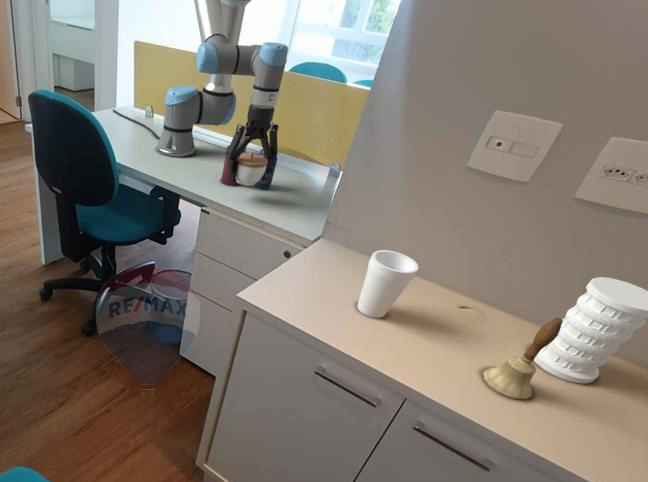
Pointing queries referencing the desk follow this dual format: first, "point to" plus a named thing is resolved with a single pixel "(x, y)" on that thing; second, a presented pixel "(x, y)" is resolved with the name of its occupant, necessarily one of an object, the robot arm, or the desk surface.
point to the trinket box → (250, 168)
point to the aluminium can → (228, 172)
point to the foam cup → (385, 281)
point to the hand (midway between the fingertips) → (246, 179)
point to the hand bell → (521, 366)
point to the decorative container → (595, 329)
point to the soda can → (268, 176)
